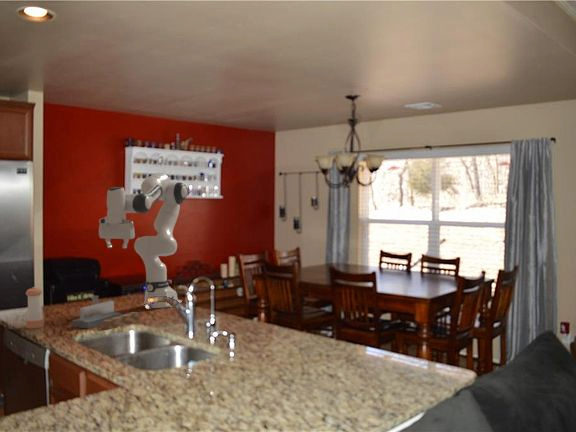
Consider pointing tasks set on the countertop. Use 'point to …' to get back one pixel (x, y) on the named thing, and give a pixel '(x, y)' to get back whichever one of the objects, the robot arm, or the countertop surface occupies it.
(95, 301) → the flask
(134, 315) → the walnut rod
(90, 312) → the ridge stand
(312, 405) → the countertop surface
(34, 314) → the pepper shaker
